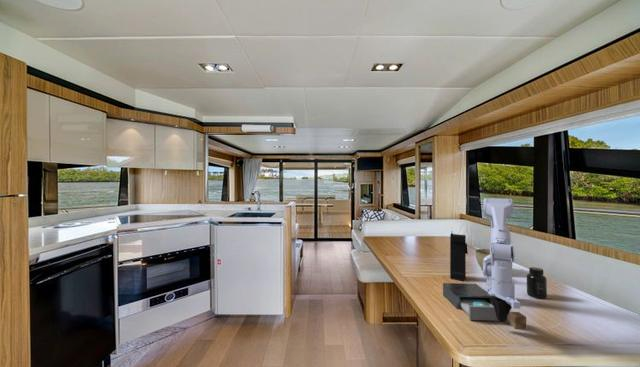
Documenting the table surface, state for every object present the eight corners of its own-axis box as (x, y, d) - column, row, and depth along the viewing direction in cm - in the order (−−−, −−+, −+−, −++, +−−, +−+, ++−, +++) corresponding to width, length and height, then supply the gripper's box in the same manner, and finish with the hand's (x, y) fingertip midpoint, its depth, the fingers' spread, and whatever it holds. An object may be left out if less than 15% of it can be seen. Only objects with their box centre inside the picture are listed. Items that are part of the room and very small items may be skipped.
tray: (486, 304, 105) (486, 293, 106) (508, 321, 93) (508, 308, 93) (453, 303, 106) (453, 292, 106) (470, 319, 93) (470, 306, 93)
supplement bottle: (547, 296, 115) (547, 268, 115) (546, 300, 110) (546, 272, 111) (527, 291, 120) (527, 265, 120) (525, 296, 115) (525, 268, 115)
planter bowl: (495, 278, 138) (495, 257, 138) (468, 268, 153) (468, 250, 153) (516, 274, 144) (516, 254, 144) (487, 266, 159) (487, 248, 159)
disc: (490, 309, 99) (490, 303, 99) (490, 315, 94) (490, 309, 94) (473, 305, 102) (473, 300, 102) (472, 311, 97) (472, 305, 97)
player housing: (475, 296, 115) (475, 283, 115) (493, 310, 102) (493, 296, 102) (442, 295, 115) (443, 282, 116) (456, 308, 102) (456, 295, 103)
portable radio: (467, 278, 137) (467, 230, 137) (467, 281, 132) (467, 232, 132) (451, 275, 141) (451, 228, 141) (449, 278, 136) (449, 230, 136)
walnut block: (518, 323, 92) (518, 311, 92) (526, 329, 88) (526, 317, 88) (508, 323, 92) (508, 311, 92) (515, 328, 88) (515, 316, 89)
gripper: (477, 272, 95) (477, 309, 95) (503, 287, 81) (503, 332, 81) (497, 272, 95) (497, 310, 95) (527, 288, 80) (527, 332, 80)
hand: (501, 320), depth 88 cm, fingers closed
